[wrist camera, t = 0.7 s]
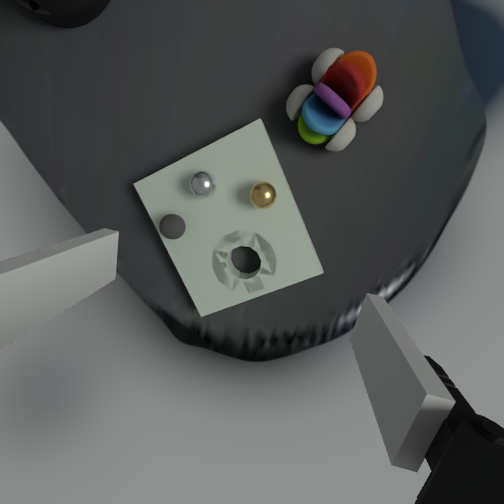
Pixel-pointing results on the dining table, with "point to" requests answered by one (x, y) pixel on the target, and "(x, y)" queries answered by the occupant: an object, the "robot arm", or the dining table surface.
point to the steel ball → (203, 184)
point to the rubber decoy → (172, 226)
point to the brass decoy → (263, 195)
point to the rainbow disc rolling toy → (336, 98)
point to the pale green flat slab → (231, 221)
